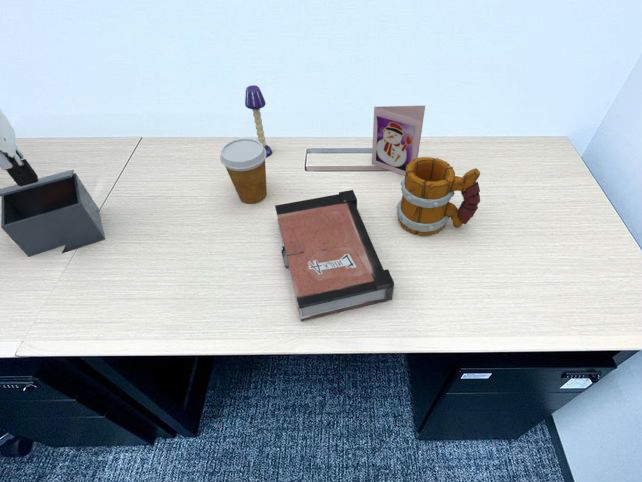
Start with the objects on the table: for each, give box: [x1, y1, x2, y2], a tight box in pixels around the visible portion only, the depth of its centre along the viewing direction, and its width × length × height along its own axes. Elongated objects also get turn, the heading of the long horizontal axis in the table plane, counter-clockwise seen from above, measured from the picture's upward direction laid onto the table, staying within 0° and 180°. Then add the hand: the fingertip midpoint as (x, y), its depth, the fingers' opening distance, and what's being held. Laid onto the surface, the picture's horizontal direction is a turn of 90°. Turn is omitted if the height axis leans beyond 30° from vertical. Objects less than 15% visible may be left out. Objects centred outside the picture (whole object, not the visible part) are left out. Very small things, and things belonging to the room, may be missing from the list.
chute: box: [0, 172, 106, 258], centre depth 79 cm, size 13×11×10 cm
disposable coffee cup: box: [219, 137, 268, 205], centre depth 87 cm, size 10×10×12 cm
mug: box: [396, 156, 481, 237], centre depth 80 cm, size 11×16×15 cm, turn 70°
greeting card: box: [371, 105, 426, 177], centre depth 93 cm, size 11×7×15 cm, turn 58°
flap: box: [0, 169, 75, 198], centre depth 76 cm, size 13×5×1 cm, turn 120°
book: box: [274, 189, 395, 322], centre depth 77 cm, size 26×18×5 cm
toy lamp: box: [244, 84, 273, 158], centre depth 96 cm, size 5×5×17 cm
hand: (28, 181), depth 73 cm, fingers closed
